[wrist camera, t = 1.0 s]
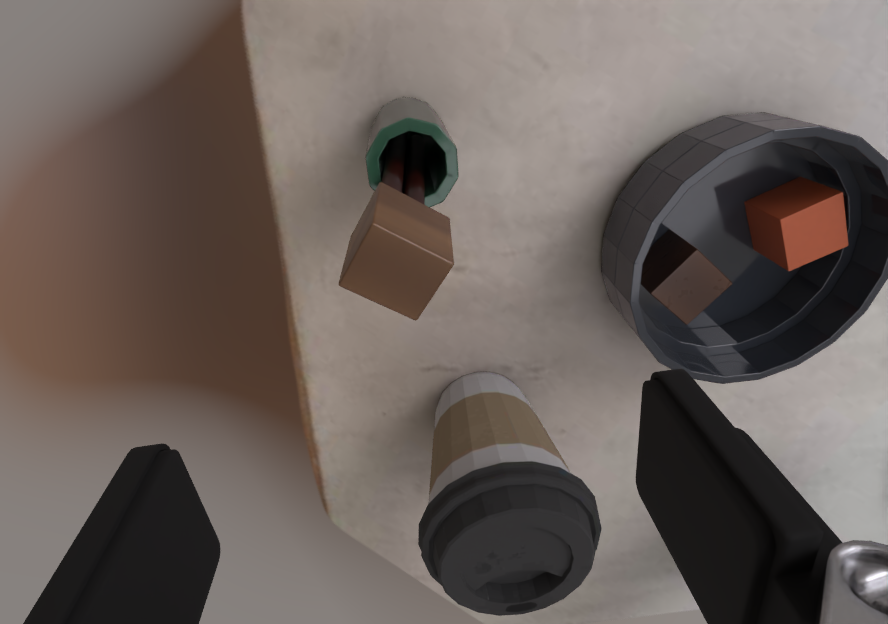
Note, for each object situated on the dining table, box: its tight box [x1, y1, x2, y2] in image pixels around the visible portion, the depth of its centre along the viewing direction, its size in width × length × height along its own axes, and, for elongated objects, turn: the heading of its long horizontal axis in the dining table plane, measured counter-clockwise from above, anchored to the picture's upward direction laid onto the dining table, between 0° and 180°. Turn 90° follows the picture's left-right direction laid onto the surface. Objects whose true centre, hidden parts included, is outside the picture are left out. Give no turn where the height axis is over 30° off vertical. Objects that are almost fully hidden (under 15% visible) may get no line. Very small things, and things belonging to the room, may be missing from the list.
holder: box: [366, 97, 458, 207], centre depth 30 cm, size 4×5×9 cm
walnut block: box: [641, 229, 733, 325], centre depth 38 cm, size 4×4×4 cm
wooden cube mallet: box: [339, 132, 454, 320], centre depth 26 cm, size 3×3×18 cm
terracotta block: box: [744, 177, 848, 271], centre depth 37 cm, size 4×4×4 cm
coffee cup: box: [419, 372, 601, 616], centre depth 38 cm, size 11×11×15 cm
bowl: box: [601, 112, 888, 384], centre depth 37 cm, size 17×17×6 cm
